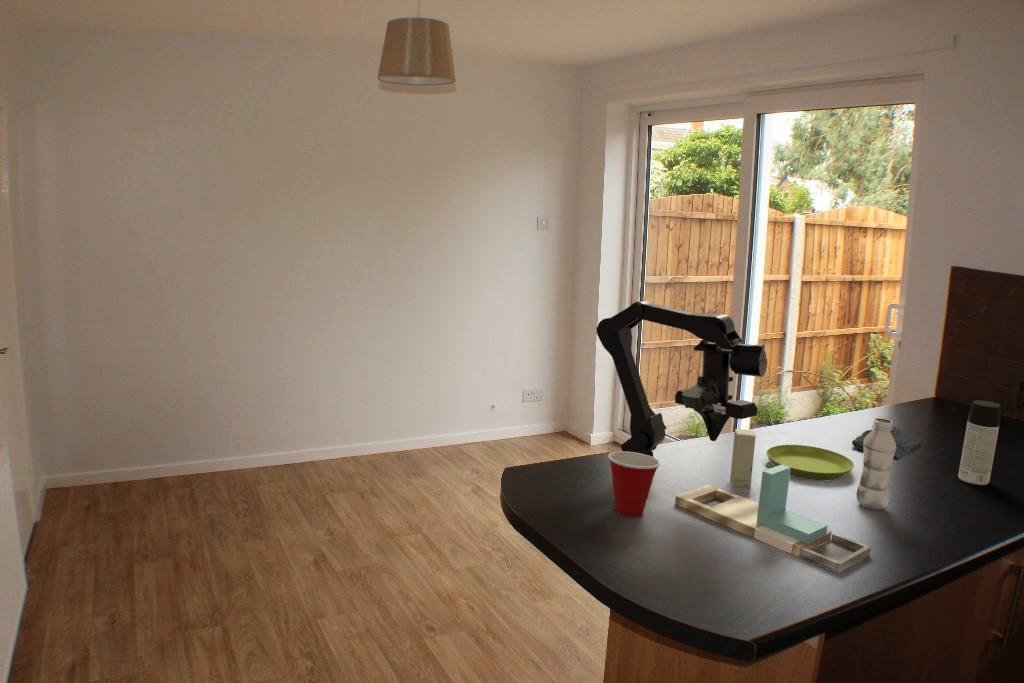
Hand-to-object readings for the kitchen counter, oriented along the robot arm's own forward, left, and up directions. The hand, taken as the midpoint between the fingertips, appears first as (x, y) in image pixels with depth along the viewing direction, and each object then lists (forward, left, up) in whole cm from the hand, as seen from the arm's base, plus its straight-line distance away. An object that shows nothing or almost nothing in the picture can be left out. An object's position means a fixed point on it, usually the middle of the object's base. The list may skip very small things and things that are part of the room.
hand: (713, 440), depth 165 cm
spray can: (+69, +24, -13) cm, 74 cm away
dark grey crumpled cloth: (+57, +48, -14) cm, 76 cm away
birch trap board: (+9, -16, -13) cm, 22 cm away
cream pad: (+13, -19, -13) cm, 27 cm away
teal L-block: (+13, -20, -11) cm, 26 cm away
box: (+9, +9, -13) cm, 18 cm away
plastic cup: (-18, -12, -13) cm, 26 cm away
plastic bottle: (+36, +1, -13) cm, 38 cm away
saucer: (+29, +24, -13) cm, 40 cm away
